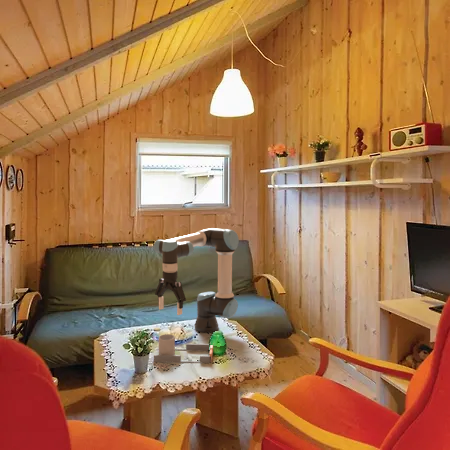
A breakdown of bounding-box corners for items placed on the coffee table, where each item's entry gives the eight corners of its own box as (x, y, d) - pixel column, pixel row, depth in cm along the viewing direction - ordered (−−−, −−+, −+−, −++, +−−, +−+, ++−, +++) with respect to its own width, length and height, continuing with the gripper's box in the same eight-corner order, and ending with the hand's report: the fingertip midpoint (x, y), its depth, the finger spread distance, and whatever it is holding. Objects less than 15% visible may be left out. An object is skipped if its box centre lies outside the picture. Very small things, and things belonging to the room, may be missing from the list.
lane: (153, 361, 209) (153, 352, 209) (159, 349, 225) (159, 340, 225) (211, 363, 208) (211, 353, 208) (213, 350, 224) (213, 341, 224)
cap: (210, 348, 214) (210, 347, 214) (210, 345, 218) (210, 344, 218) (212, 349, 214) (212, 347, 214) (212, 345, 218) (212, 344, 218)
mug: (176, 358, 213) (176, 338, 212) (161, 361, 210) (161, 341, 209) (170, 349, 224) (170, 330, 223) (155, 352, 221) (155, 333, 220)
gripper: (148, 268, 209) (148, 308, 212) (182, 276, 194) (182, 318, 196) (158, 266, 215) (159, 305, 217) (193, 273, 200) (193, 314, 202)
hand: (170, 311), depth 207 cm, fingers open, 13 cm apart
